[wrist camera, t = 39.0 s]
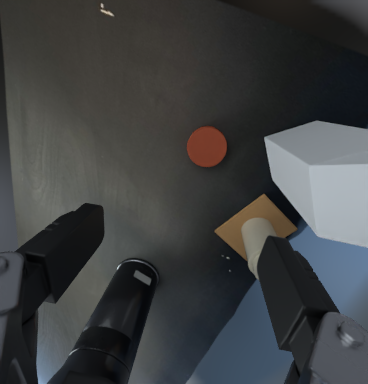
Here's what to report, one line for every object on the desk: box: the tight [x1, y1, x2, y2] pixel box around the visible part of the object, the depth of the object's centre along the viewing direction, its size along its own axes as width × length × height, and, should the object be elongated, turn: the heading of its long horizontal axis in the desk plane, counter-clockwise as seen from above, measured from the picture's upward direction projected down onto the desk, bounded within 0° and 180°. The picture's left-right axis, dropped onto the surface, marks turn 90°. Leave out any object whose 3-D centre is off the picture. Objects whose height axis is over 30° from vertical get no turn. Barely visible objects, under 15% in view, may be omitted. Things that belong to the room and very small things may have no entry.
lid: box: [187, 126, 227, 167], centre depth 30 cm, size 6×6×2 cm
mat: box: [215, 194, 298, 261], centre depth 36 cm, size 11×9×1 cm
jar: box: [241, 218, 278, 280], centre depth 31 cm, size 6×6×9 cm
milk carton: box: [264, 121, 368, 248], centre depth 21 cm, size 7×7×19 cm
